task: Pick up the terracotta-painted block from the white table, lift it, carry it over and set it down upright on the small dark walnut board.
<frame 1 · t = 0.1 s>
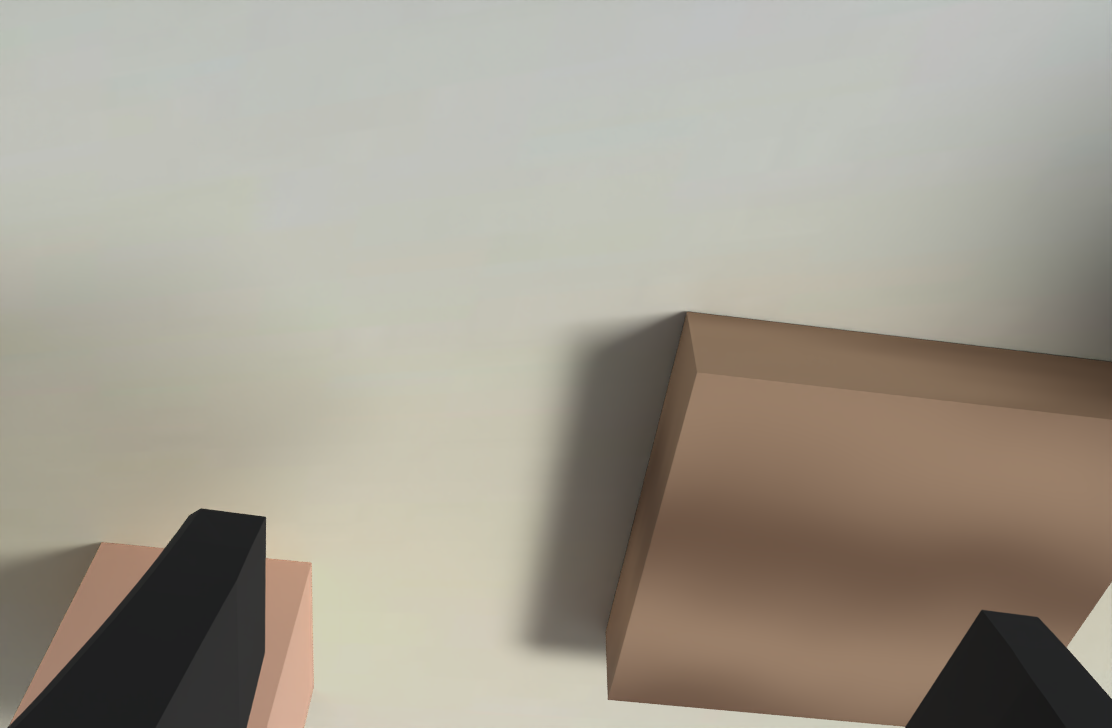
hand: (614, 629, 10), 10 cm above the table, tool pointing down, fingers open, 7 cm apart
block: (215, 617, 26), on the table
board: (853, 515, 23), on the table
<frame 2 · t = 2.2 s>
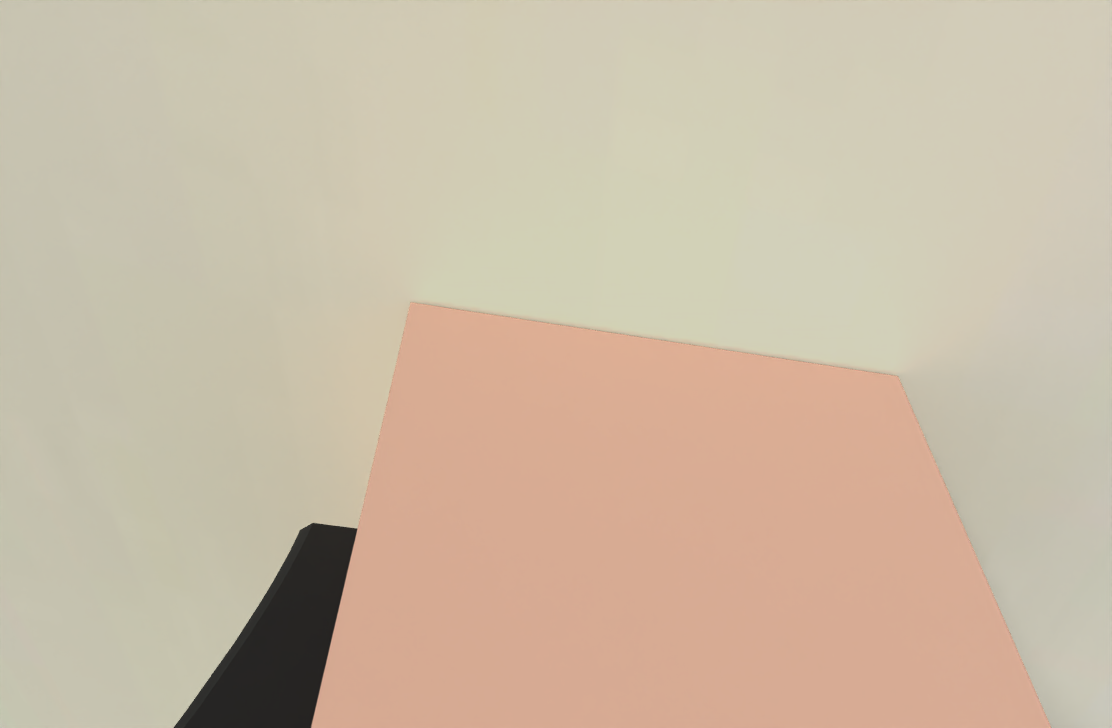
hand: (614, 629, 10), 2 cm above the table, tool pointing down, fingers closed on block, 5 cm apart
block: (609, 515, 12), on the table, touching gripper
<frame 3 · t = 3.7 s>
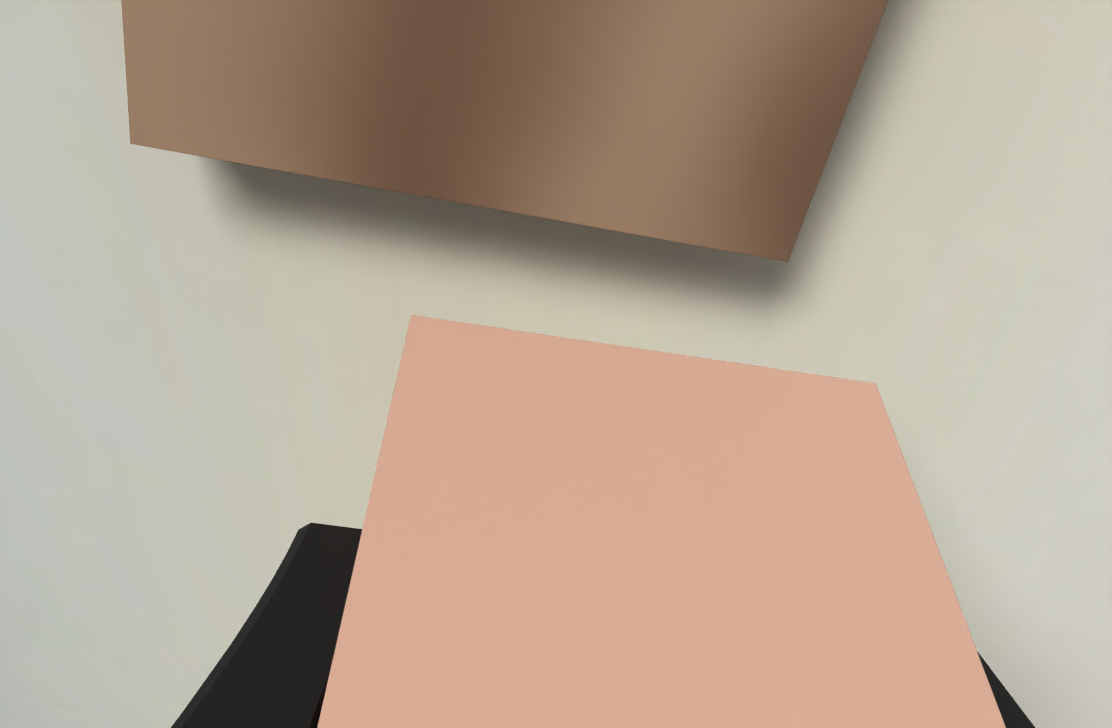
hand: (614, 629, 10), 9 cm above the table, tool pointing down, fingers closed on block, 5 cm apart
block: (601, 513, 12), point 7 cm above the table, touching gripper
when the fingers open (5 cm above the table, at t = 5.3 s): block stays where it is, resting on board.
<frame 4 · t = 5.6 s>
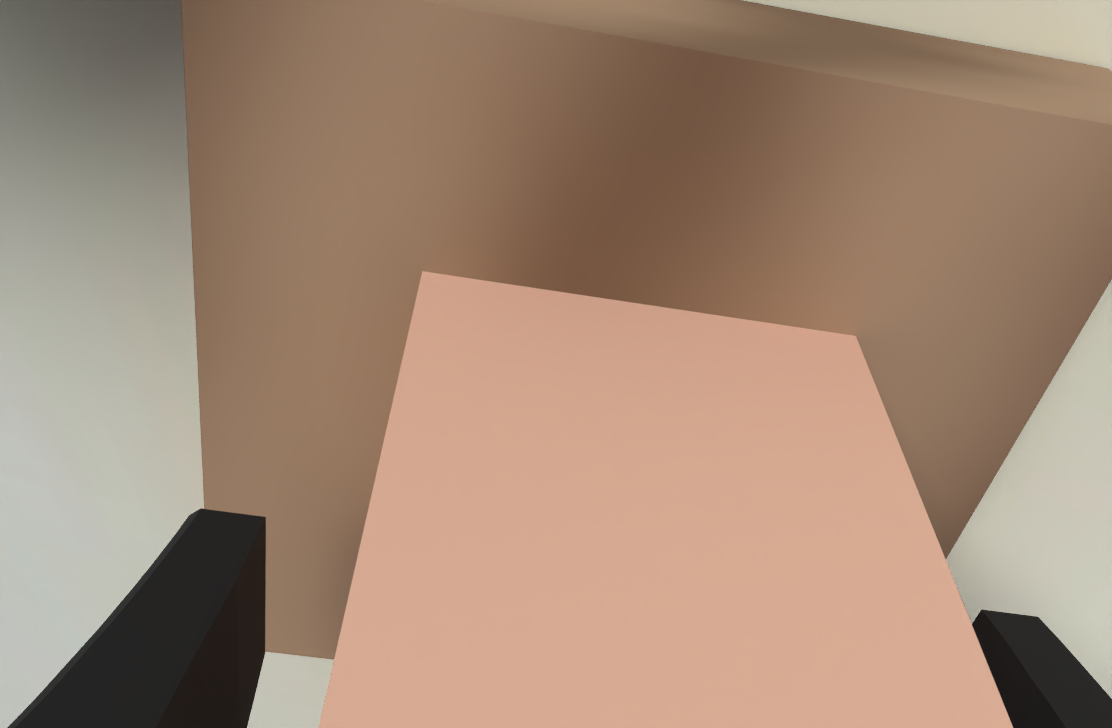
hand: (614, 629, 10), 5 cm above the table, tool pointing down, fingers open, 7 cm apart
block: (600, 466, 13), point 2 cm above the table, touching board
board: (601, 348, 14), on the table
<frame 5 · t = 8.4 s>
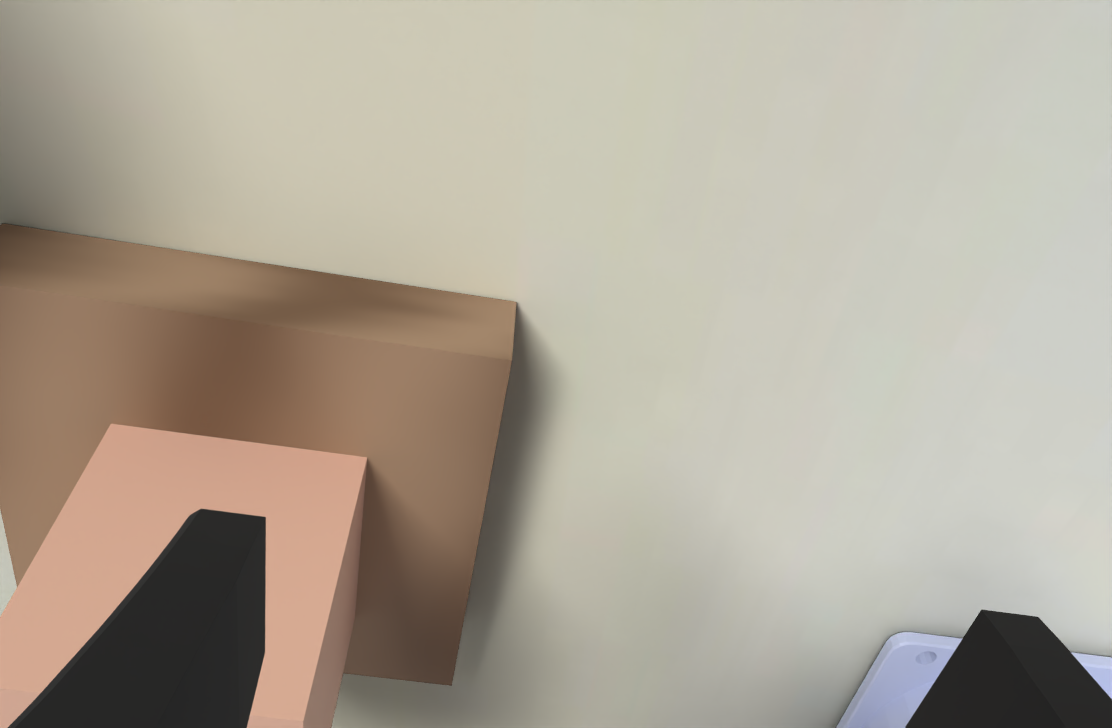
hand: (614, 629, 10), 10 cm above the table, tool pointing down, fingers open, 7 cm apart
block: (242, 528, 21), point 2 cm above the table, touching board
board: (264, 451, 23), on the table
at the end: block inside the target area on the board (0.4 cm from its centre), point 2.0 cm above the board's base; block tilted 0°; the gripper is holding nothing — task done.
